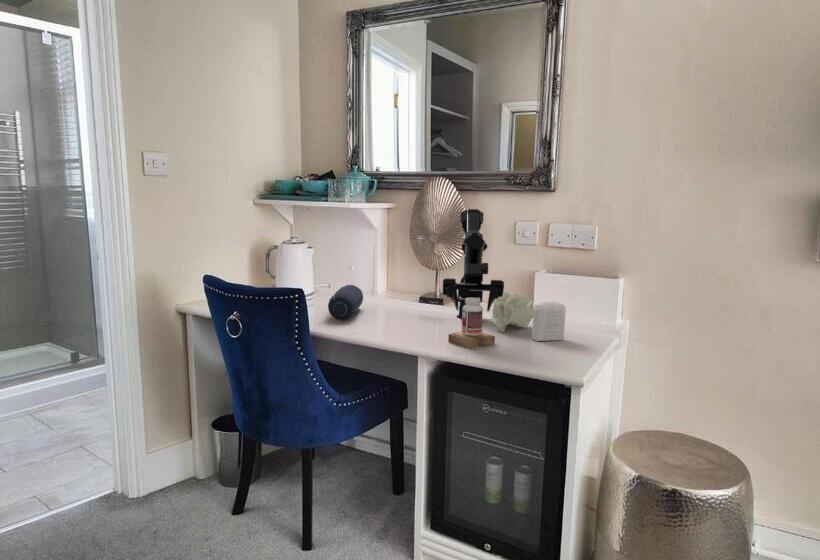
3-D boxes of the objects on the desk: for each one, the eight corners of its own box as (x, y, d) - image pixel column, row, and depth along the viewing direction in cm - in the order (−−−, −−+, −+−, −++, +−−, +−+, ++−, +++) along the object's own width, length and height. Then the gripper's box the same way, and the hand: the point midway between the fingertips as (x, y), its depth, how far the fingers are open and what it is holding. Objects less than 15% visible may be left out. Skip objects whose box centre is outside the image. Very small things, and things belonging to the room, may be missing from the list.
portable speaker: (339, 307, 222) (339, 282, 220) (364, 308, 221) (364, 283, 219) (325, 322, 197) (325, 294, 195) (354, 323, 196) (354, 295, 195)
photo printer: (559, 337, 182) (561, 299, 180) (565, 340, 178) (568, 302, 176) (529, 338, 179) (531, 300, 177) (535, 342, 175) (537, 303, 173)
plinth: (471, 337, 180) (471, 328, 179) (494, 344, 172) (494, 335, 172) (448, 341, 174) (448, 333, 173) (471, 349, 166) (471, 340, 165)
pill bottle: (485, 333, 173) (486, 298, 172) (476, 337, 168) (477, 301, 167) (467, 330, 177) (468, 296, 175) (457, 334, 172) (459, 298, 170)
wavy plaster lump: (507, 342, 200) (511, 301, 205) (538, 340, 190) (541, 297, 195) (475, 329, 188) (480, 285, 193) (507, 326, 179) (511, 280, 184)
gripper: (443, 252, 173) (441, 294, 164) (505, 254, 172) (506, 296, 163) (443, 274, 182) (441, 314, 173) (501, 275, 181) (503, 316, 172)
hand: (472, 310), depth 170 cm, fingers open, 9 cm apart
